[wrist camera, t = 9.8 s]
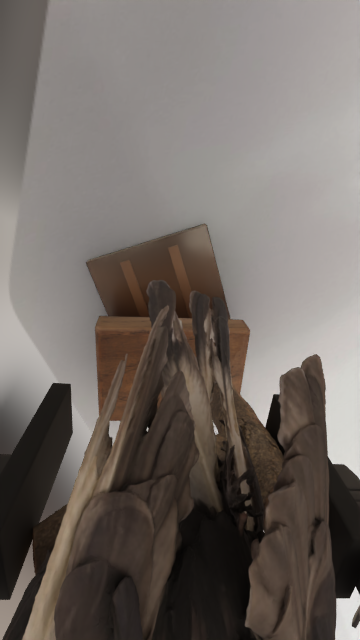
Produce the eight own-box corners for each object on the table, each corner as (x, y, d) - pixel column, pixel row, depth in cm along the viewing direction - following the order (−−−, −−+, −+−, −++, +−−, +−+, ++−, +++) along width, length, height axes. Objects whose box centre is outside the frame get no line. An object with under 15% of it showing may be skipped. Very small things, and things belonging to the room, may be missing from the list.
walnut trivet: (88, 259, 26) (85, 262, 25) (204, 223, 25) (206, 224, 24) (137, 378, 30) (136, 384, 29) (237, 349, 30) (239, 355, 29)
